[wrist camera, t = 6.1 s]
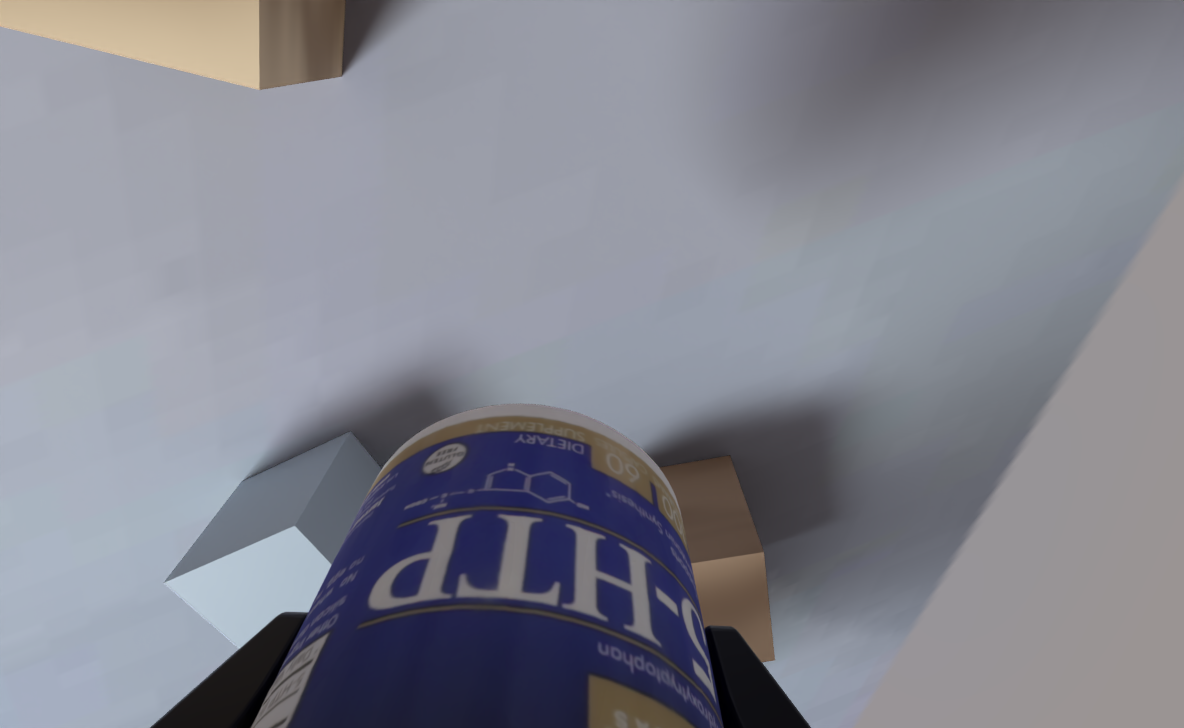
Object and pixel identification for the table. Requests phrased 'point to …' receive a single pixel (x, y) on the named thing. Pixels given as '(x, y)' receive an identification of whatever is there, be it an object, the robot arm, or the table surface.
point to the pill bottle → (506, 589)
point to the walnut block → (724, 550)
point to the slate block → (275, 539)
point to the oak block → (200, 34)
